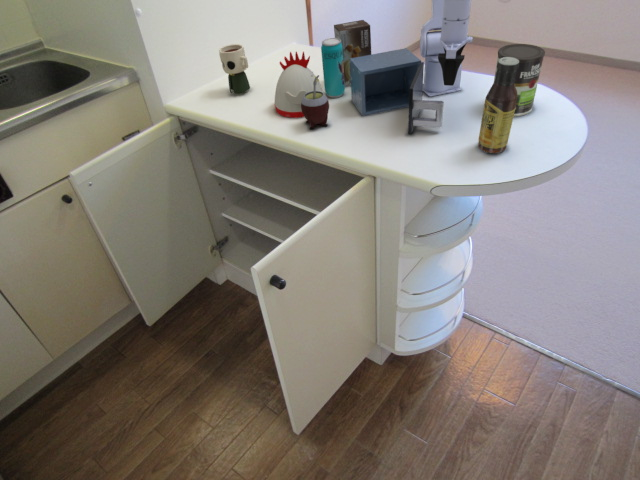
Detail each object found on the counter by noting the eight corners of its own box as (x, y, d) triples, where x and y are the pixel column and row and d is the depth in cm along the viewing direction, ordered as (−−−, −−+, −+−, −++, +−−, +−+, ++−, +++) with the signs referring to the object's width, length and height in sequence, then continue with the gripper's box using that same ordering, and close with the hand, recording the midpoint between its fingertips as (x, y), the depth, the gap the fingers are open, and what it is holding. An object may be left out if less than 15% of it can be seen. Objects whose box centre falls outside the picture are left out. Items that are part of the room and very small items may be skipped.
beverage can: (343, 99, 131) (340, 44, 121) (323, 99, 132) (318, 45, 122) (346, 90, 135) (343, 37, 125) (327, 90, 136) (322, 37, 126)
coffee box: (366, 74, 143) (364, 18, 132) (372, 81, 138) (371, 24, 127) (337, 79, 142) (333, 24, 131) (343, 87, 137) (339, 30, 126)
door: (447, 106, 121) (452, 62, 114) (440, 136, 110) (444, 89, 103) (418, 105, 123) (420, 61, 116) (407, 134, 112) (409, 88, 105)
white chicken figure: (323, 116, 124) (318, 59, 114) (273, 119, 125) (263, 64, 116) (325, 94, 135) (320, 40, 125) (278, 97, 136) (270, 44, 126)
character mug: (219, 93, 142) (209, 49, 134) (235, 84, 146) (226, 41, 138) (245, 99, 137) (235, 55, 128) (261, 90, 141) (253, 46, 132)
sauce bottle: (473, 142, 107) (485, 55, 94) (500, 139, 107) (516, 51, 94) (483, 157, 102) (497, 67, 89) (511, 153, 102) (530, 63, 89)
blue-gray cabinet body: (419, 104, 124) (421, 60, 116) (362, 116, 122) (360, 71, 114) (405, 90, 131) (406, 48, 124) (351, 101, 129) (349, 58, 122)
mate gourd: (312, 116, 125) (306, 60, 115) (338, 121, 121) (334, 63, 111) (297, 129, 120) (289, 71, 110) (324, 134, 117) (318, 75, 107)
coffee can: (541, 108, 116) (555, 51, 107) (510, 120, 113) (521, 62, 104) (510, 95, 123) (521, 40, 114) (480, 106, 120) (488, 50, 111)
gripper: (473, 27, 95) (466, 91, 104) (476, 6, 105) (469, 66, 114) (438, 28, 97) (433, 90, 106) (444, 7, 107) (439, 66, 116)
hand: (450, 78), depth 110 cm, fingers open, 7 cm apart
